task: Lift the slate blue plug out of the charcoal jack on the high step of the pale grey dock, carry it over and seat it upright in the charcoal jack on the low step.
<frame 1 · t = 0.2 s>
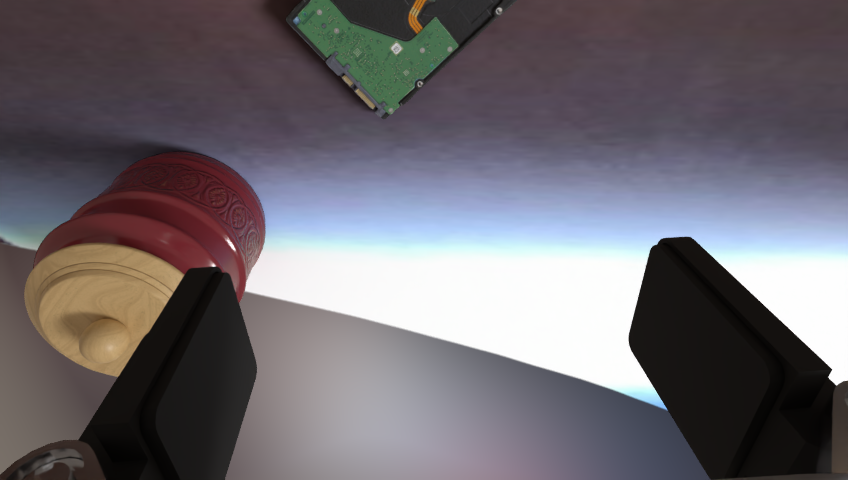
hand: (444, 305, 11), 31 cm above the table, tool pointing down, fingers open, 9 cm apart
canister: (196, 214, 44), on the table
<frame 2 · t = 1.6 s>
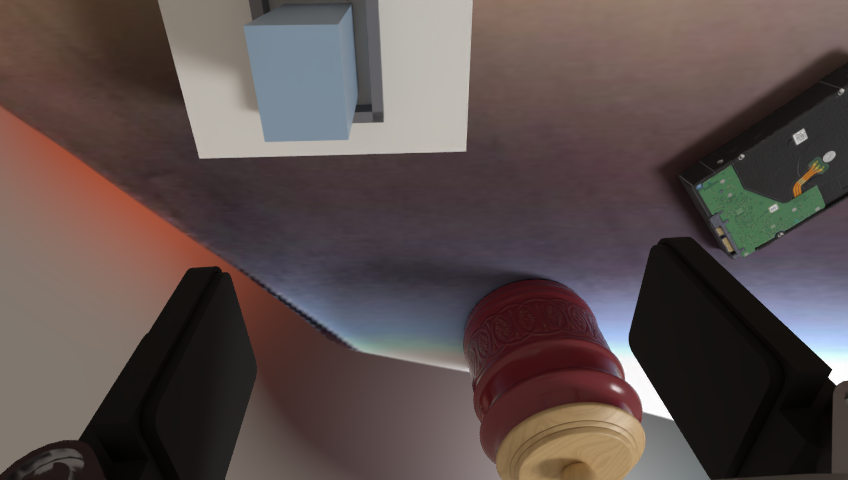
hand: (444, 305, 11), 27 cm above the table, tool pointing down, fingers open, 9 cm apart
disk drive: (776, 160, 41), on the table
canister: (524, 326, 48), on the table
plug: (323, 49, 26), point 8 cm above the table, touching dock
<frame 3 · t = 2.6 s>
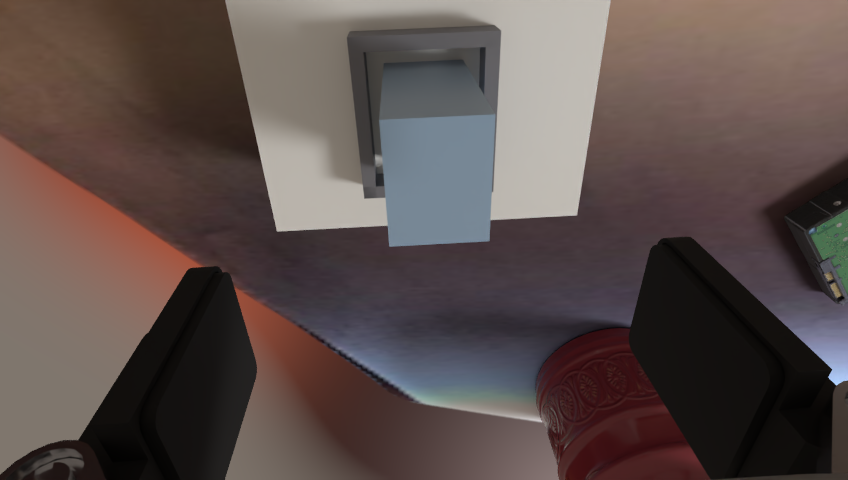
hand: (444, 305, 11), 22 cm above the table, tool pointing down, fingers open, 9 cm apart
canister: (600, 375, 45), on the table
plug: (425, 111, 22), point 8 cm above the table, touching dock
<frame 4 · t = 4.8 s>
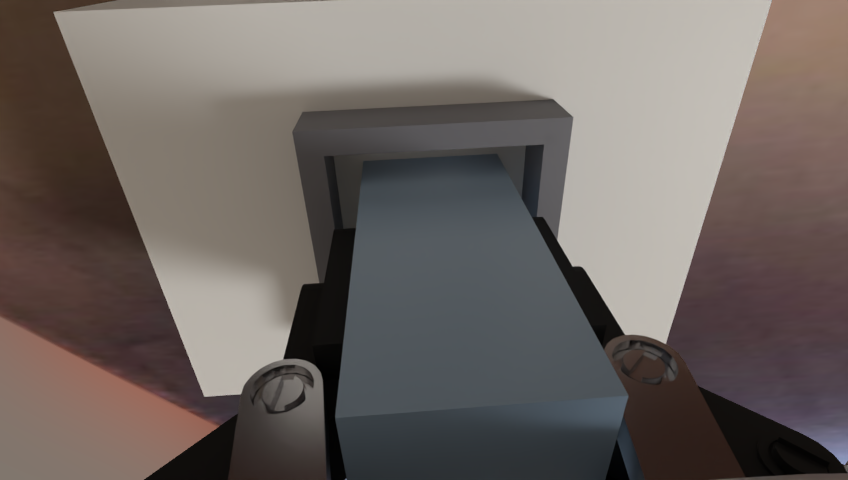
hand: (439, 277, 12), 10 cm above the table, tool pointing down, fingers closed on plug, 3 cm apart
plug: (432, 231, 14), point 8 cm above the table, touching dock, gripper
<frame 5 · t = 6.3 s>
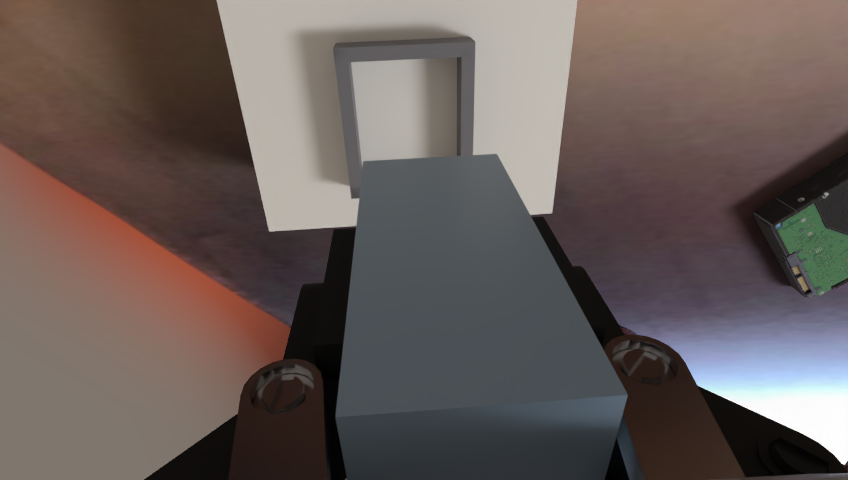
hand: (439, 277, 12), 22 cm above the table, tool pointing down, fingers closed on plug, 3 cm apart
plug: (432, 231, 14), point 20 cm above the table, touching gripper
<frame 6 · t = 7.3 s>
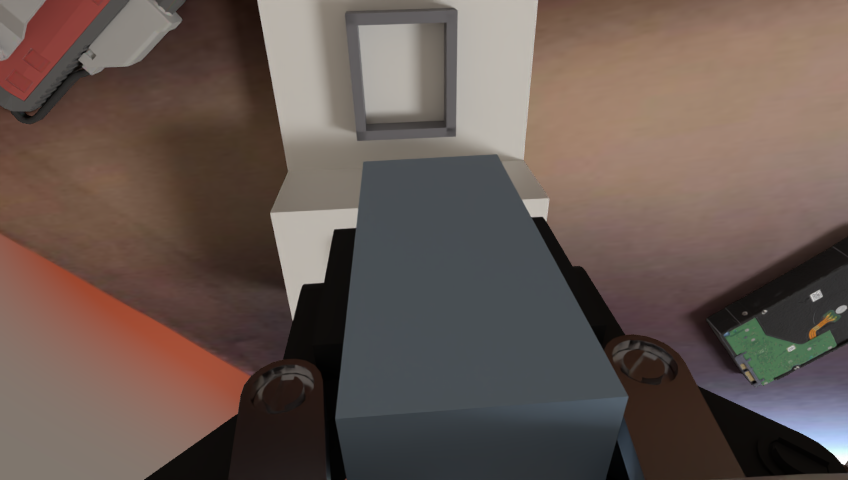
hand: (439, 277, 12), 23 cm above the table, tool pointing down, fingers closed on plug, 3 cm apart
dock: (406, 155, 34), on the table
disk drive: (793, 303, 45), on the table
plug: (432, 232, 14), point 21 cm above the table, touching gripper
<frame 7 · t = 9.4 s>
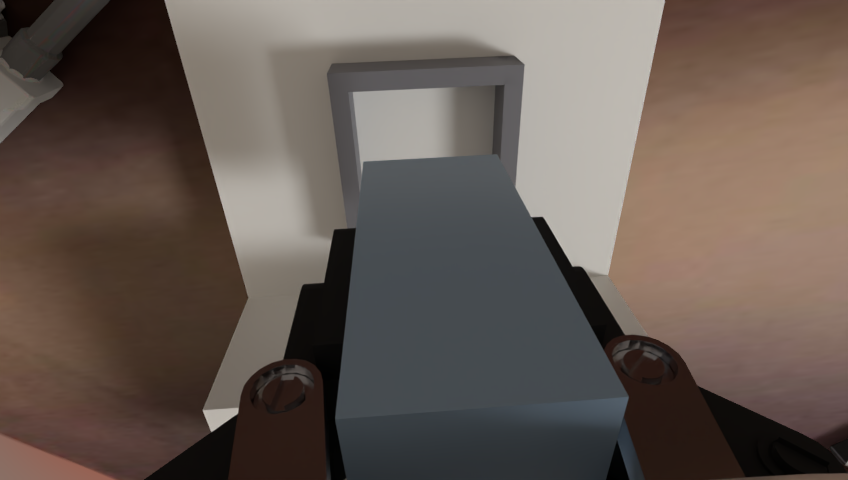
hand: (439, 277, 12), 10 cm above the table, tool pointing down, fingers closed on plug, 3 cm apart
dock: (427, 261, 23), on the table
plug: (432, 232, 14), point 7 cm above the table, touching gripper
when the fingers open (5 cm above the table, at t = 10.5 s): plug stays where it is, resting on dock.
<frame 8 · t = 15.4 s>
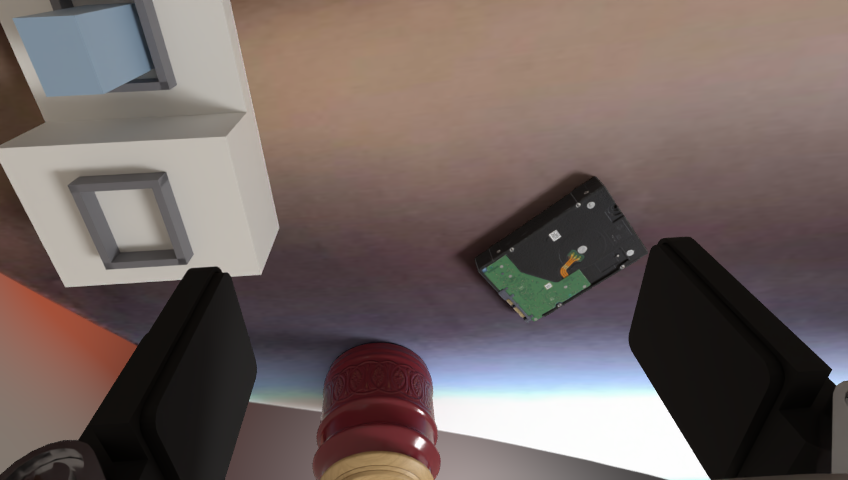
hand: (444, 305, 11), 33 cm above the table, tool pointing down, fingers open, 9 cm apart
dock: (157, 110, 41), on the table
disk drive: (555, 247, 51), on the table
canister: (378, 377, 59), on the table
plug: (122, 37, 36), point 2 cm above the table, touching dock
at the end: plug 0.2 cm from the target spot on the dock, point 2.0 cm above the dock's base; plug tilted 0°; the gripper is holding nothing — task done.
